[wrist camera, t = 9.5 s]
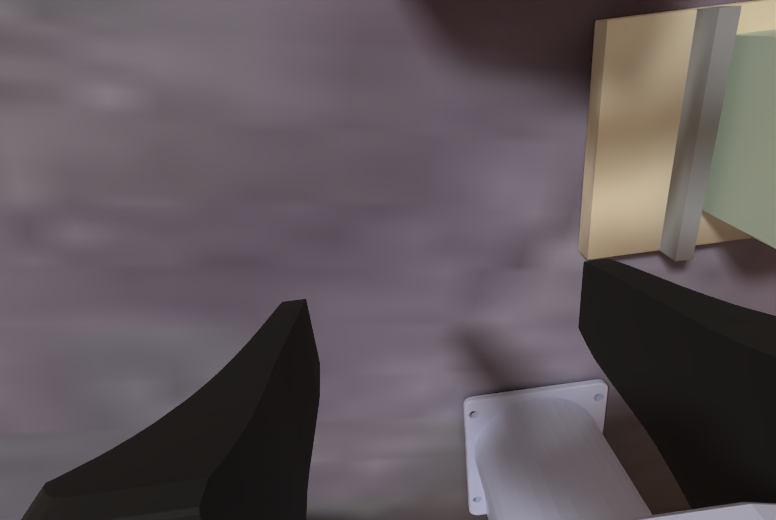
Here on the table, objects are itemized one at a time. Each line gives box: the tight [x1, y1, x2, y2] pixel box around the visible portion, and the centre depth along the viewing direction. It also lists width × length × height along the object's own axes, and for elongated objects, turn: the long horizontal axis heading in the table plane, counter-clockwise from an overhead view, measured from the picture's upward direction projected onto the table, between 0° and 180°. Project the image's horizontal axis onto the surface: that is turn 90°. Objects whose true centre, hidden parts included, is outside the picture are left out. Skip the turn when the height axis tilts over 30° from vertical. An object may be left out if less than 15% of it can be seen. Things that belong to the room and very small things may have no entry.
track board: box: [578, 0, 776, 262], centre depth 20 cm, size 10×12×2 cm
